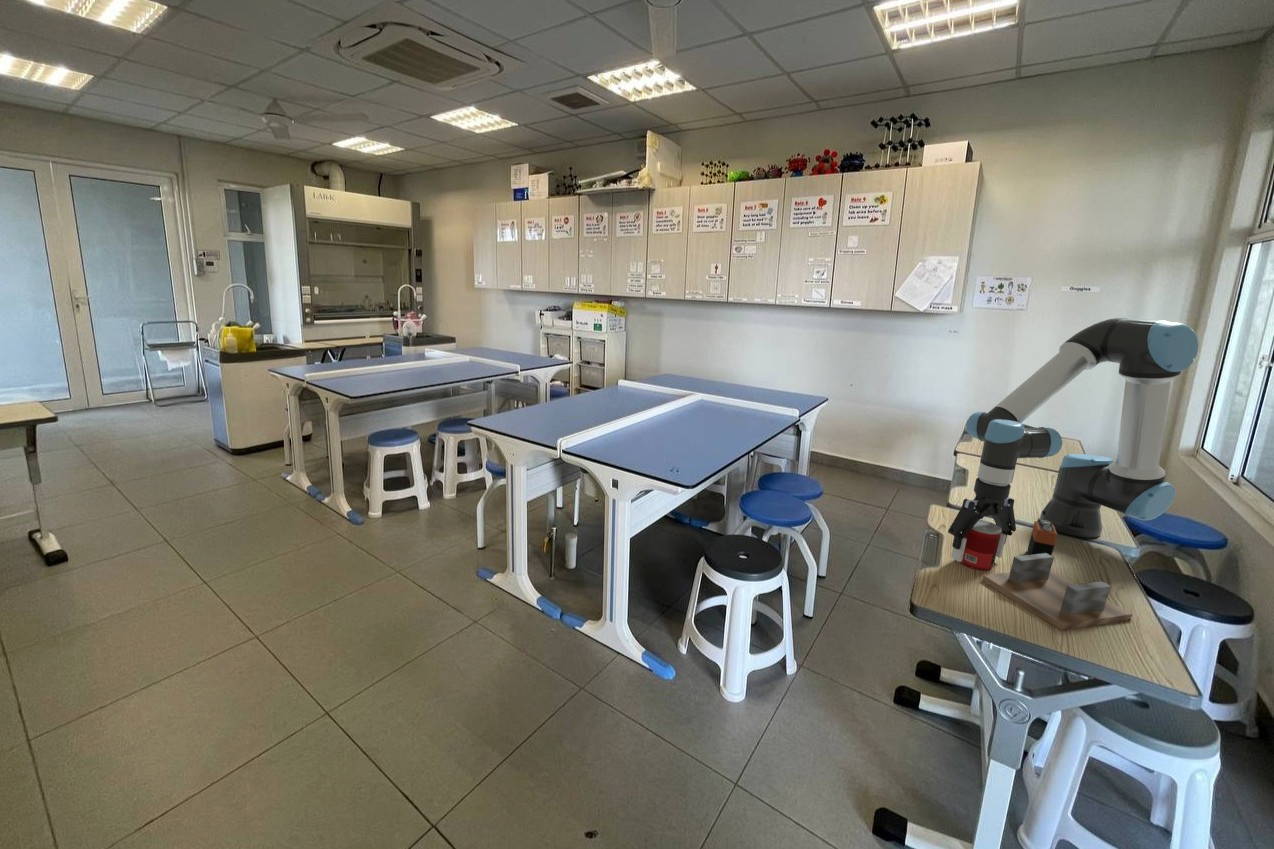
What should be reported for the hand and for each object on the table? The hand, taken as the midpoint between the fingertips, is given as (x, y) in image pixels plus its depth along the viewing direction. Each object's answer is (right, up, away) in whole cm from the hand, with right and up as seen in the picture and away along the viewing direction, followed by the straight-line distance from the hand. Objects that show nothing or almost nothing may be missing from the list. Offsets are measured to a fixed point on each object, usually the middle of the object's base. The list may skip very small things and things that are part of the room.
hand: (976, 557), depth 142 cm
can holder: (+8, -6, -15) cm, 18 cm away
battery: (+20, -1, +4) cm, 20 cm away
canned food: (0, -2, 0) cm, 2 cm away
